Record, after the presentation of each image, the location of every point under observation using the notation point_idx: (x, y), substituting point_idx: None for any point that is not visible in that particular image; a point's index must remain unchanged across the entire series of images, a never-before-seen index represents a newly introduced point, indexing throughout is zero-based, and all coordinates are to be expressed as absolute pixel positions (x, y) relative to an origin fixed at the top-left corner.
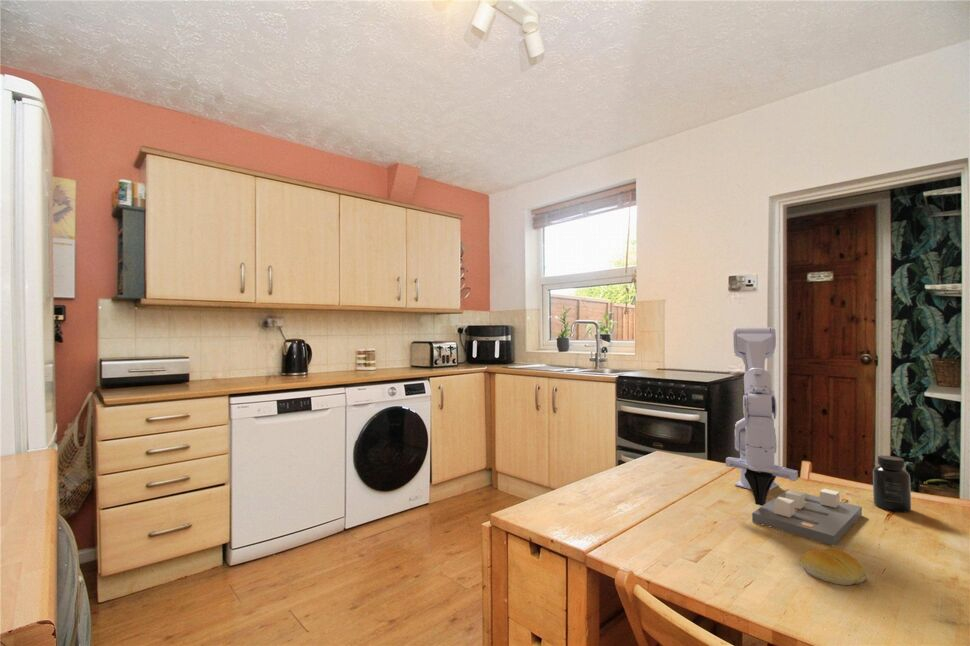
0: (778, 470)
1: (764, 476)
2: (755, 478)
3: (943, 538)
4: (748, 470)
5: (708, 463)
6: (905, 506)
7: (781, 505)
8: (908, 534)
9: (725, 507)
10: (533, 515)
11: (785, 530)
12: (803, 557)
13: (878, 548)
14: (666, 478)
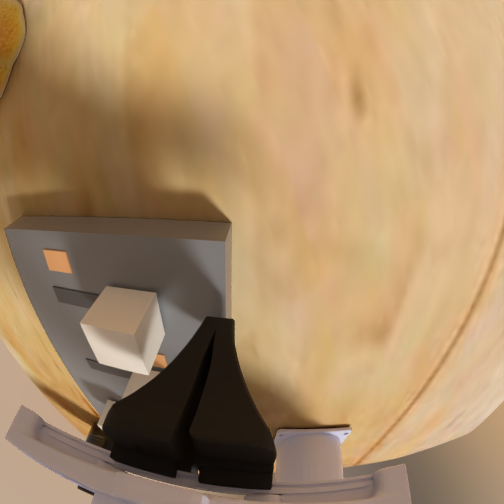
0: (47, 463)
1: (134, 443)
2: (193, 429)
3: (25, 363)
4: (257, 479)
5: (399, 454)
6: (90, 429)
7: (115, 317)
8: (37, 359)
9: (360, 296)
10: None
11: (111, 218)
12: (6, 10)
13: (4, 273)
14: (494, 363)
